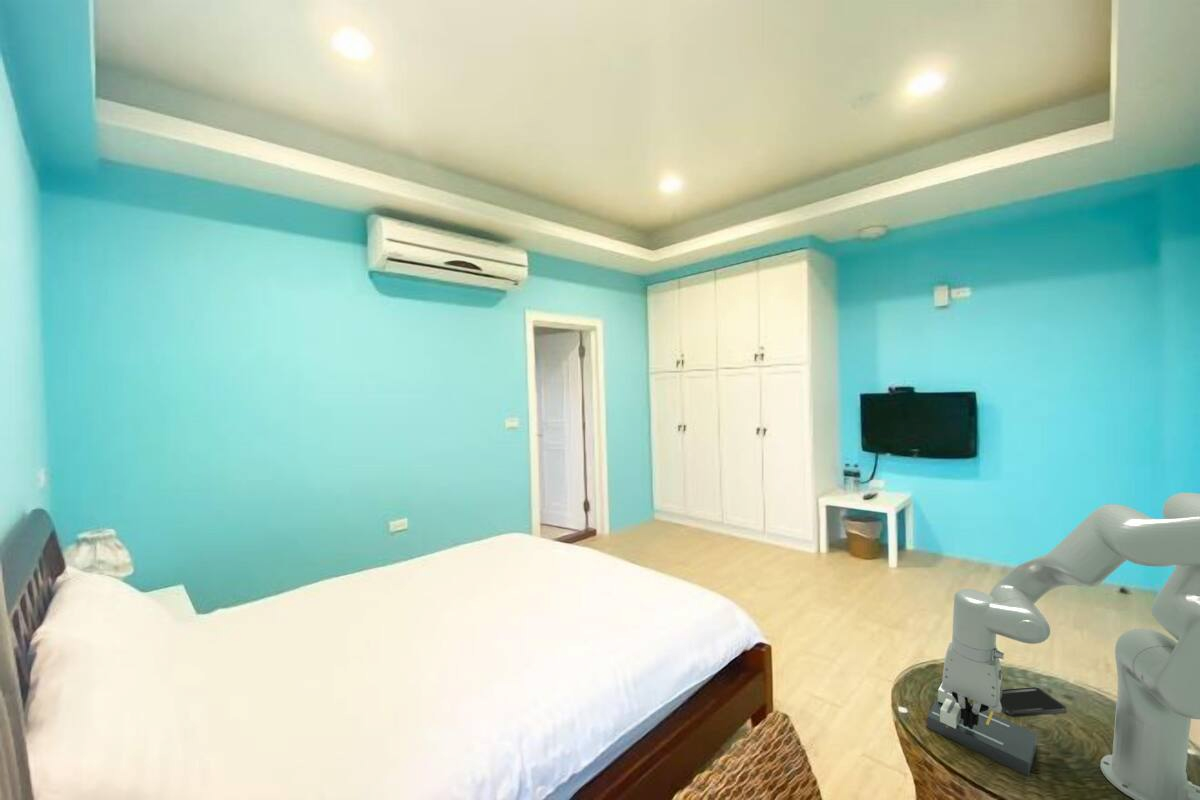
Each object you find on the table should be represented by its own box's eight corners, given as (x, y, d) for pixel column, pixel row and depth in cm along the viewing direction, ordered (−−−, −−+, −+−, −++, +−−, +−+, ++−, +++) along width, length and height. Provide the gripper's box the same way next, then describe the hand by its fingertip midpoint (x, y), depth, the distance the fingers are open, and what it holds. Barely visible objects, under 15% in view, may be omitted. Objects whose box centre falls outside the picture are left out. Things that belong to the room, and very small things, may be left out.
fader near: (961, 716, 112) (961, 704, 111) (955, 728, 108) (956, 716, 108) (945, 710, 114) (946, 697, 114) (939, 721, 111) (940, 708, 110)
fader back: (958, 697, 118) (958, 685, 118) (952, 707, 115) (953, 695, 114) (943, 690, 120) (944, 679, 120) (937, 701, 117) (938, 689, 116)
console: (1037, 743, 108) (1038, 730, 107) (1027, 778, 99) (1028, 764, 99) (941, 701, 121) (941, 690, 121) (925, 729, 113) (926, 717, 112)
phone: (981, 691, 123) (1037, 686, 124) (981, 695, 123) (1037, 690, 124) (1009, 714, 115) (1069, 709, 116) (1009, 718, 115) (1069, 713, 116)
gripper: (1020, 655, 103) (1015, 734, 105) (937, 626, 114) (934, 698, 116) (1014, 671, 98) (1009, 754, 100) (928, 640, 110) (925, 715, 112)
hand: (969, 724), depth 108 cm, fingers closed
